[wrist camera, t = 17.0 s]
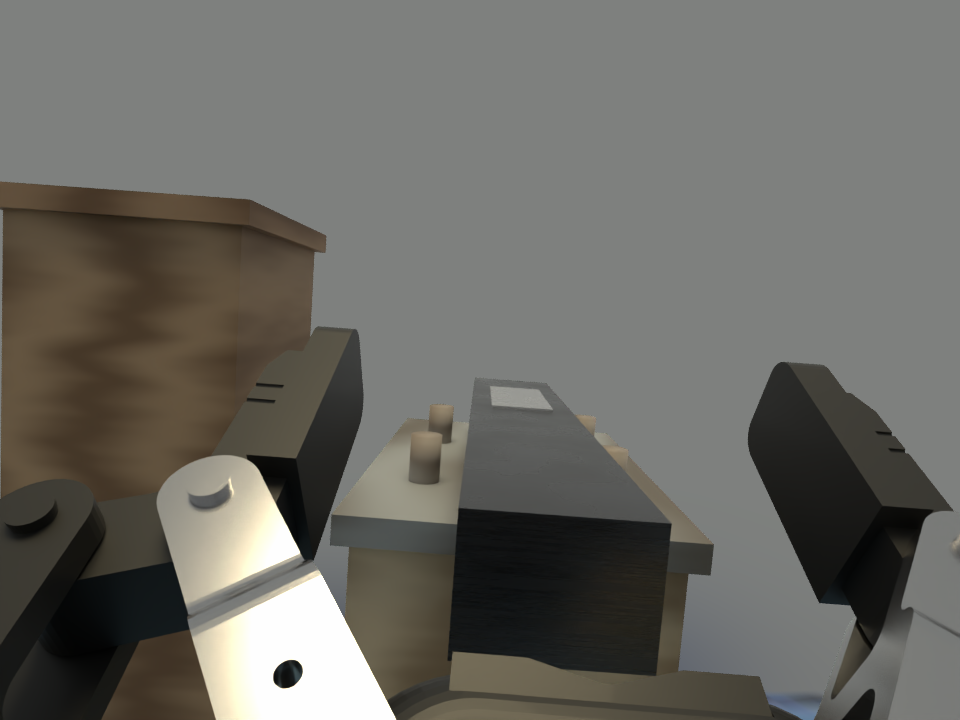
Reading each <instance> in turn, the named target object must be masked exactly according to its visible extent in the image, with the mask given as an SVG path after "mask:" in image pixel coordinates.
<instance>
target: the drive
mask: <svg viewBox="0 0 960 720" xmlns="http://www.w3.org/2000/svg"><path fill="white" fill-rule="evenodd" d="M671 527H672V523H671V522H670V521H669V520H668V519H667V518H666V517H665V515H664V514H663V513H662V512H661V511H660V510H659V509H658V508H657V507H656V505H655V504H654V503H653V502H652V501H651V500H650V499H649V498H648V496H647V495H646V494H645V493H644V492H643V491H642V490H641V489H640V488H639V486H638V485H637V484H636V483H635V482H634V481H633V480H632V479H631V477H630V476H629V475H628V474H627V473H626V472H625V471H624V470H623V469H622V467H621V466H620V465H619V464H618V463H617V462H616V461H615V460H614V458H613V457H612V456H611V455H610V454H609V453H608V452H607V451H606V450H605V448H604V447H603V446H602V445H601V444H600V443H599V442H598V441H597V439H596V438H595V437H594V436H593V435H592V434H591V433H590V432H589V431H588V429H587V428H586V427H585V426H584V425H583V424H582V423H581V422H580V420H579V419H578V418H577V417H576V416H575V415H574V414H573V413H572V412H571V411H570V409H569V408H568V407H567V406H566V405H565V404H564V403H563V402H562V400H561V399H560V398H559V397H558V396H557V395H556V394H555V393H554V392H553V391H552V389H551V388H550V387H549V386H548V385H547V384H546V383H537V382H523V381H510V380H496V379H482V378H475V381H474V389H473V397H472V405H471V413H470V421H469V429H468V436H467V444H466V452H465V460H464V468H463V476H462V484H461V492H460V499H459V507H458V521H457V535H456V548H455V562H454V576H453V590H452V603H451V617H450V631H449V645H448V658H447V661H452V654H453V652H464V653H476V654H489V655H501V656H513V657H525V658H530V659H533V660H536V661H539V662H542V663H545V664H547V665H550V666H553V667H556V668H559V669H565V670H578V671H592V672H605V673H619V674H632V675H646V676H656V673H657V663H658V653H659V643H660V634H661V624H662V614H663V604H664V595H665V585H666V575H667V566H668V556H669V546H670V536H671Z"/></svg>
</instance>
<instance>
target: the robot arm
mask: <svg viewBox="0 0 960 720" xmlns="http://www.w3.org/2000/svg"><path fill="white" fill-rule="evenodd" d="M362 410H363V383H362V370H361V356H360V342H359V335H358V332H357V330H356V329H345V328H331V327H316V328H315V330H314V331H313V334H312V335H311V337H310V339H309V340H308V342H307V344H306V346H305V348H304V350H303V351H295V350H287V351H285V352H284V353H283V354H281V355H280V356H279V357H277V358H276V359H274V360H273V361H272V362H270V363H269V364H267V366H266V367H265V369H264V371H263V372H262V374H261V375H260V377H259V379H258V380H257V382H256V387H253V388H252V390H251V392H250V393H249V395H248V397H247V401H246V402H244V403H243V405H242V406H241V408H240V410H239V411H238V413H237V414H236V416H235V418H234V419H233V421H232V423H231V424H230V426H229V427H228V429H227V431H226V432H225V434H224V436H223V437H222V439H221V440H220V442H219V444H218V445H217V447H216V449H215V450H214V452H213V453H212V455H211V457H206V458H203V459H199V460H197V461H194V462H192V463H189V464H188V465H186V466H184V467H182V468H181V469H179V470H178V471H176V472H175V473H174V474H172V475H171V476H170V477H169V478H168V479H167V480H166V482H165V483H164V484H163V486H162V487H161V489H160V491H158V492H154V493H149V494H144V495H138V496H132V497H126V498H120V499H114V500H108V501H102V502H96V500H95V498H94V496H93V493H92V492H91V490H90V488H88V487H87V486H86V485H85V484H83V483H81V482H79V481H75V480H70V479H52V480H45V481H41V482H37V483H33V484H30V485H27V486H24V487H22V488H20V489H17V490H15V491H13V492H11V493H9V494H7V495H6V496H4V497H2V498H1V499H0V720H101V719H102V717H103V715H104V713H105V711H106V709H107V707H108V705H109V703H110V701H111V699H112V697H113V694H114V692H115V690H116V688H117V686H118V684H119V682H120V680H121V678H122V676H123V674H124V672H125V670H126V668H127V666H128V664H129V662H130V660H131V658H132V656H133V653H134V651H135V649H136V647H137V645H138V643H139V641H141V640H146V639H150V638H155V637H159V636H163V635H168V634H172V633H177V632H181V631H186V630H190V632H191V635H192V639H193V642H194V646H195V649H196V652H197V656H198V659H199V663H200V666H201V670H202V673H203V676H204V680H205V683H206V687H207V690H208V694H209V697H210V701H211V704H212V707H213V711H214V714H215V718H216V720H802V719H800V718H798V717H797V716H795V715H793V714H791V713H789V712H786V711H784V710H782V709H780V708H778V707H776V706H773V705H770V704H768V701H767V698H766V695H765V692H764V689H763V686H762V683H761V680H760V677H758V676H746V675H733V674H721V673H709V672H697V671H678V672H673V673H668V674H663V675H658V676H653V677H648V678H643V679H638V680H633V681H628V682H623V683H618V684H604V683H600V682H597V681H594V680H591V679H588V678H585V677H582V676H579V675H576V674H574V673H571V672H568V671H565V670H562V669H559V668H556V667H553V666H550V665H547V664H545V663H542V662H539V661H536V660H533V659H530V658H525V657H513V656H501V655H489V654H476V653H464V652H453V654H452V665H451V675H446V676H441V677H437V678H433V679H430V680H427V681H424V682H421V683H418V684H416V685H413V686H411V687H409V688H407V689H405V690H403V691H401V692H399V693H398V694H396V695H394V696H393V697H391V698H390V699H388V700H387V701H386V699H385V697H384V695H383V694H382V692H381V690H380V688H379V686H378V684H377V682H376V680H375V678H374V676H373V674H372V672H371V670H370V668H369V666H368V665H367V663H366V661H365V659H364V657H363V655H362V653H361V651H360V649H359V647H358V645H357V643H356V641H355V639H354V637H353V635H352V634H351V632H350V630H349V628H348V626H347V624H346V622H345V620H344V618H343V616H342V614H341V612H340V610H339V608H338V606H337V605H336V603H335V601H334V599H333V597H332V595H331V593H330V591H329V589H328V587H327V585H326V583H325V582H324V579H323V577H322V576H321V574H320V572H319V570H318V568H317V567H316V565H315V564H314V562H313V561H312V560H314V558H315V555H316V552H317V549H318V546H319V543H320V540H321V537H322V534H323V531H324V528H325V525H326V522H327V520H328V516H329V514H330V511H331V508H332V505H333V502H334V499H335V496H336V493H337V490H338V487H339V484H340V481H341V478H342V475H343V472H344V469H345V466H346V464H347V461H348V458H349V455H350V451H351V449H352V446H353V443H354V440H355V437H356V434H357V431H358V428H359V425H360V422H361V417H362ZM748 447H749V451H750V455H751V457H752V459H753V461H754V464H755V466H756V468H757V470H758V472H759V475H760V477H761V479H762V481H763V483H764V485H765V487H766V490H767V492H768V494H769V496H770V498H771V500H772V502H773V504H774V507H775V509H776V511H777V513H778V515H779V517H780V520H781V522H782V524H783V526H784V528H785V530H786V533H787V534H788V537H789V539H790V541H791V543H792V545H793V548H794V550H795V552H796V554H797V556H798V558H799V560H800V562H801V565H802V566H803V569H804V571H805V573H806V576H807V577H808V580H809V582H810V584H811V586H812V588H813V591H814V593H815V595H816V597H817V599H818V601H819V603H826V604H840V605H850V606H851V608H852V610H853V611H854V614H855V617H854V618H853V619H852V621H851V622H850V624H849V625H848V627H847V629H846V632H845V634H844V637H843V640H842V643H841V646H840V649H839V652H838V655H837V658H836V660H835V663H834V667H833V669H832V672H831V675H830V678H829V681H828V683H827V686H826V689H825V692H824V695H823V698H822V701H821V704H820V706H819V709H818V712H817V714H816V716H815V718H814V720H960V513H959V512H954V511H953V509H952V508H951V507H950V506H949V504H948V503H947V502H946V501H945V499H944V498H943V497H942V495H941V494H940V493H939V492H938V490H937V489H936V488H935V486H934V485H933V484H932V483H931V481H930V480H929V479H928V478H927V476H926V475H925V474H924V472H923V471H922V470H921V469H920V468H919V466H918V465H917V464H916V462H915V461H914V460H913V459H912V457H911V456H910V455H909V454H906V453H905V448H904V447H903V446H902V444H901V443H900V442H899V441H898V439H897V438H896V437H895V436H892V432H891V430H890V429H889V428H888V427H887V425H886V424H885V423H884V422H883V420H882V419H881V418H880V416H879V415H878V414H877V413H876V412H875V411H874V410H873V409H871V408H870V407H869V406H867V405H866V404H864V403H863V402H862V401H861V400H859V399H858V398H856V397H855V396H854V395H852V394H851V393H846V392H845V390H844V389H843V388H842V387H841V385H840V384H839V382H838V381H837V380H836V378H835V377H834V376H833V375H832V373H831V372H830V370H829V369H828V368H827V367H825V366H824V365H817V364H803V363H789V362H780V363H778V364H777V365H776V366H775V367H774V369H773V371H772V373H771V375H770V377H769V380H768V382H767V385H766V387H765V389H764V392H763V394H762V397H761V399H760V402H759V404H758V406H757V409H756V411H755V413H754V416H753V419H752V421H751V423H750V427H749V432H748Z"/></svg>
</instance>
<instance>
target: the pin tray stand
mask: <svg viewBox="0 0 960 720" xmlns="http://www.w3.org/2000/svg"><path fill="white" fill-rule="evenodd" d="M453 409H454V407H453V406H451V405H444V404H432V405H430V413H429V420H423V419H410V418H408V419H407V420H406V421H405V422H404V424H403V425H402V426H401V427H400V429H399V430H398V431H397V433H396V434H395V435H394V436H393V438H392V439H391V440H390V441H389V443H388V444H387V445H386V446H385V448H384V449H383V450H382V451H381V453H380V454H379V455H378V457H377V458H376V459H375V460H374V462H373V463H372V464H371V465H370V467H369V468H368V469H367V470H366V472H365V473H364V474H363V475H362V477H361V478H360V480H359V481H358V482H357V483H356V484H355V486H354V487H353V488H352V490H351V491H350V492H349V493H348V494H347V496H346V497H345V498H344V499H343V501H342V502H341V503H340V505H339V506H338V507H337V508H336V510H335V511H334V512H333V513H332V517H331V537H330V545H334V546H346V547H349V557H348V575H347V592H346V610H345V611H346V612H345V622H346V624H347V626H348V628H349V630H350V632H351V634H352V635H353V637H354V639H355V641H356V643H357V645H358V647H359V649H360V651H361V653H362V655H363V657H364V659H365V661H366V663H367V665H368V666H369V668H370V670H371V672H372V674H373V676H374V678H375V680H376V682H377V684H378V686H379V688H380V690H381V692H382V694H383V695H384V697H385V699H386V701H387V700H388V699H390V698H391V697H393V696H394V695H396V694H398V693H399V692H401V691H403V690H405V689H407V688H409V687H411V686H413V685H416V684H418V683H421V682H424V681H427V680H430V679H433V678H437V677H441V676H446V675H451V665H452V661H447V658H448V645H449V631H450V617H451V603H452V590H453V576H454V562H455V548H456V535H457V521H458V507H459V499H460V492H461V484H462V476H463V468H464V460H465V452H466V444H467V436H468V429H469V423H462V422H453ZM575 416H576V417H577V418H578V419H579V420H580V422H581V423H582V424H583V425H584V426H585V427H586V428H587V429H588V431H589V432H590V433H591V434H592V435H593V436H594V437H595V438H596V439H597V441H598V442H599V443H600V444H601V445H602V446H603V447H604V448H605V450H606V451H607V452H608V453H609V454H610V455H611V456H612V457H613V458H614V460H615V461H616V462H617V463H618V464H619V465H620V466H621V467H622V469H623V470H624V471H625V472H626V473H627V474H628V475H629V476H630V477H631V479H632V480H633V481H634V482H635V483H636V484H637V485H638V486H639V488H640V489H641V490H642V491H643V492H644V493H645V494H646V495H647V496H648V498H649V499H650V500H651V501H652V502H653V503H654V504H655V505H656V507H657V508H658V509H659V510H660V511H661V512H662V513H663V514H664V515H665V517H666V518H667V519H668V520H669V521H670V522H671V523H672V527H671V536H670V546H669V556H668V566H667V575H666V585H665V595H664V604H663V614H662V624H661V634H660V643H659V653H658V663H657V673H656V676H658V675H663V674H668V673H673V672H678V667H679V657H680V648H681V638H682V630H683V619H684V611H685V600H686V592H687V582H688V574H699V575H710V574H711V565H712V557H713V547H714V544H713V543H712V542H711V541H710V540H709V539H708V538H707V537H706V536H705V535H704V534H703V533H702V532H701V531H700V530H699V529H698V528H697V527H696V526H695V525H694V523H692V521H691V520H690V519H689V518H688V517H687V516H686V515H685V514H684V513H683V512H682V511H681V510H680V509H679V508H678V507H677V506H676V505H675V504H674V503H673V502H672V501H671V500H670V499H669V498H668V497H667V496H666V494H665V493H664V492H663V491H662V490H661V489H660V488H659V487H658V486H657V485H656V484H655V483H654V482H653V481H652V480H651V479H650V478H649V477H648V476H647V475H646V474H645V473H644V472H643V471H642V470H641V469H640V468H639V467H638V466H637V464H636V463H635V462H634V461H633V460H632V459H631V458H630V457H629V456H628V450H627V449H625V448H622V447H619V446H618V445H617V444H616V443H615V442H614V441H613V440H612V439H611V437H610V436H609V435H608V434H606V433H595V422H596V418H595V417H592V416H587V415H575ZM562 670H565V669H562ZM565 671H568V672H571V673H574V674H576V675H579V676H582V677H585V678H588V679H591V680H594V681H597V682H600V683H604V684H618V683H623V682H628V681H633V680H638V679H643V678H648V677H653V676H646V675H632V674H619V673H605V672H592V671H578V670H565Z"/></svg>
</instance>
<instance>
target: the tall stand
mask: <svg viewBox="0 0 960 720" xmlns="http://www.w3.org/2000/svg"><path fill="white" fill-rule="evenodd" d="M0 209H1V210H3V284H2V286H3V287H2V293H3V294H2V400H1V401H2V403H1V405H2V406H1V409H2V411H1V498H2V497H4V496H6V495H7V494H9V493H11V492H13V491H15V490H17V489H20V488H22V487H24V486H27V485H30V484H33V483H37V482H41V481H45V480H52V479H70V480H75V481H79V482H81V483H83V484H85V485H86V486H87V487H88V488H90V490H91V492H92V493H93V496H94V498H95V500H96V502H102V501H108V500H114V499H120V498H126V497H132V496H138V495H144V494H149V493H154V492H158V491H160V489H161V487H162V486H163V484H164V483H165V482H166V480H167V479H168V478H169V477H170V476H171V475H172V474H174V473H175V472H176V471H178V470H179V469H181V468H182V467H184V466H186V465H188V464H189V463H192V462H194V461H197V460H199V459H203V458H206V457H211V455H212V453H213V452H214V450H215V449H216V447H217V445H218V444H219V442H220V440H221V439H222V437H223V436H224V434H225V432H226V431H227V429H228V427H229V426H230V424H231V423H232V421H233V419H234V418H235V416H236V414H237V413H238V411H239V410H240V408H241V406H242V405H243V403H244V402H246V401H247V397H248V395H249V393H250V392H251V390H252V388H253V387H256V382H257V380H258V379H259V377H260V375H261V374H262V372H263V371H264V369H265V367H266V366H267V364H269V363H270V362H272V361H273V360H274V359H276V358H277V357H279V356H280V355H281V354H283V353H284V352H285V351H287V350H295V351H303V350H304V348H305V346H306V344H307V342H308V340H309V339H310V328H311V327H310V326H311V309H312V308H311V307H312V290H313V270H314V252H322V253H325V250H326V235H324V234H322V233H320V232H317V231H315V230H313V229H311V228H309V227H307V226H305V225H303V224H300V223H298V222H296V221H294V220H292V219H290V218H287V217H286V216H283V215H281V214H279V213H277V212H275V211H273V210H271V209H269V208H267V207H265V206H262V205H260V204H258V203H256V202H254V201H252V200H247V199H233V198H219V197H206V196H192V195H177V194H164V193H150V192H137V191H123V190H108V189H94V188H81V187H67V186H53V185H38V184H26V183H10V182H0ZM101 720H216V718H215V714H214V711H213V707H212V704H211V701H210V697H209V694H208V690H207V687H206V683H205V680H204V676H203V673H202V670H201V666H200V663H199V659H198V656H197V652H196V649H195V646H194V642H193V639H192V635H191V632H190V630H186V631H181V632H177V633H172V634H168V635H163V636H159V637H155V638H150V639H146V640H141V641H139V643H138V645H137V647H136V649H135V651H134V653H133V656H132V658H131V660H130V662H129V664H128V666H127V668H126V670H125V672H124V674H123V676H122V678H121V680H120V682H119V684H118V686H117V688H116V690H115V692H114V694H113V697H112V699H111V701H110V703H109V705H108V707H107V709H106V711H105V713H104V715H103V717H102V719H101Z"/></svg>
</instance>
